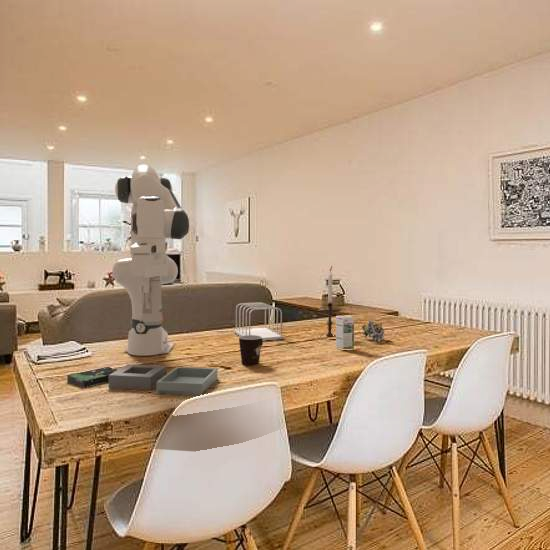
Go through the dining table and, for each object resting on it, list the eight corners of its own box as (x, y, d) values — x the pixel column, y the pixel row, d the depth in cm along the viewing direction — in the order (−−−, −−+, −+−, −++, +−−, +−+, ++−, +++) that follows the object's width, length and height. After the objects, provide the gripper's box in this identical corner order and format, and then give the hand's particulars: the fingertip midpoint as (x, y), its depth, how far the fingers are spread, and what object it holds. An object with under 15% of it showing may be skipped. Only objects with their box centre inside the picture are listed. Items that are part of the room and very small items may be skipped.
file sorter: (234, 333, 244) (234, 302, 243) (266, 331, 250) (266, 301, 249) (248, 342, 220) (248, 308, 219) (283, 340, 226) (284, 307, 225)
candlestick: (342, 336, 235) (343, 265, 233) (339, 340, 225) (340, 266, 222) (319, 335, 238) (320, 264, 235) (316, 339, 227) (317, 265, 225)
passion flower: (378, 353, 222) (374, 335, 215) (358, 346, 229) (354, 328, 222) (390, 337, 228) (387, 319, 221) (371, 330, 235) (367, 312, 228)
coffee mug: (245, 367, 175) (245, 340, 174) (234, 362, 182) (234, 336, 181) (273, 363, 181) (273, 337, 180) (261, 359, 188) (261, 333, 187)
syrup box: (342, 351, 202) (343, 317, 202) (335, 348, 208) (335, 315, 207) (354, 350, 205) (354, 316, 204) (346, 347, 210) (347, 314, 209)
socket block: (128, 376, 163) (127, 364, 163) (166, 377, 161) (166, 365, 161) (108, 387, 149) (108, 375, 149) (150, 389, 147) (150, 376, 147)
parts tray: (177, 377, 162) (176, 366, 161) (217, 378, 160) (217, 368, 160) (156, 393, 144) (156, 381, 144) (201, 395, 142) (201, 383, 142)
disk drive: (107, 374, 167) (66, 383, 156) (107, 366, 167) (66, 374, 156) (125, 379, 161) (83, 389, 149) (125, 371, 161) (83, 380, 149)
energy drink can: (165, 324, 152) (164, 276, 151) (146, 326, 149) (145, 277, 148) (158, 322, 157) (157, 276, 156) (140, 323, 153) (138, 276, 153)
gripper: (154, 247, 162) (155, 288, 163) (127, 247, 142) (128, 294, 143) (172, 248, 161) (173, 289, 162) (147, 247, 141) (148, 294, 142)
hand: (151, 291), depth 152 cm, fingers closed on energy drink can, 6 cm apart
